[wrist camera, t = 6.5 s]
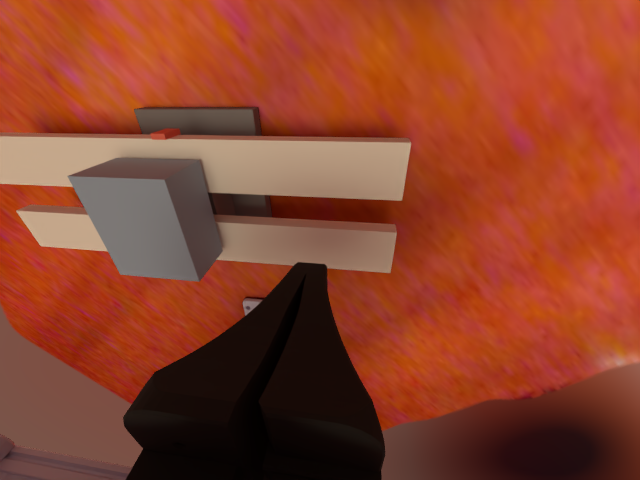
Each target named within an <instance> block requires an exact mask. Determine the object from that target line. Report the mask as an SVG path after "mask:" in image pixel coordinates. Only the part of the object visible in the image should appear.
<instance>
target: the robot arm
mask: <svg viewBox="0 0 640 480" xmlns="http://www.w3.org/2000/svg"><path fill="white" fill-rule="evenodd" d="M248 306H249V307H248ZM243 307H244V312H245V317H243V318H242V319H241V320H240V321H238V322H237V323H236V324H235V325H233V326H232V327H231V328H229V329H228V330H226V331H225V332H224V333H222V334H221V335H219V336H218V337H217V338H215V339H214V340H212V341H210V342H209V343H207V344H206V345H204V346H202V347H201V348H199V349H197V350H196V351H194V352H192V353H190V354H189V355H187V356H185V357H183V358H181V359H179V360H178V361H176V362H174V363H172V364H170V365H168V366H166V367H164V368H162V369H160V370H158V371H156V372H155V373H154V374H153V375H152V377H151V378H150V379H149V381H148V382H147V383H146V384H145V386H144V387H143V389H142V390H141V392H140V393H139V395H138V396H137V398H136V399H135V401H134V402H133V404H132V405H131V407H130V408H129V410H128V411H127V412H126V414H125V415H124V417H123V419H124V426H125V428H126V429H127V430H128V432H129V433H130V434H131V435H132V436H133V437H134V439H135V440H136V441H137V442H138V443H139V444H140V445H141V447H143V450H142V452H141V454H140V456H139V457H138V459H137V461H136V462H135V464H134V466H133V467H128V466H123V465H118V464H112V463H107V462H102V461H97V460H91V459H86V458H81V457H75V456H70V455H65V454H60V453H54V452H49V451H44V450H39V449H33V448H28V447H23V446H17V445H14V442H13V441H11V440H10V439H9V438H7V437H5V436H3V435H1V434H0V480H381V468H382V464H383V461H384V457H385V445H384V438H383V434H382V430H381V426H380V423H379V420H378V417H377V414H376V411H375V408H374V405H373V401H372V399H371V397H370V396H369V394H368V392H367V391H366V389H365V387H364V385H363V383H362V382H361V380H360V378H359V376H358V374H357V372H356V370H355V368H354V366H353V365H352V362H351V360H350V358H349V356H348V354H347V351H346V349H345V347H344V345H343V342H342V340H341V337H340V335H339V332H338V329H337V326H336V323H335V320H334V317H333V314H332V310H331V306H330V302H329V297H328V292H327V266H326V265H325V264H318V263H304V262H297V263H296V264H295V265H294V266H293V267H292V269H291V270H290V271H289V272H288V273H287V275H286V276H285V277H284V278H283V279H282V280H281V282H280V283H279V284H278V285H277V286H276V287H275V288H274V289H273V290H272V291H271V292H270V293H269V294H268V295H267V296H266V297H265V298H264V299H263V300H261V299H250V298H246V299H244V301H243Z"/></svg>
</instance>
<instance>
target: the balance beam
mask: <svg viewBox="0 0 640 480" xmlns="http://www.w3.org/2000/svg"><path fill="white" fill-rule="evenodd" d="M134 112H135V114H136V117H137V120H138V123H139V126H140V128H141V131H142V134H70V133H0V184H21V185H45V186H68V187H73V186H72V184H71V182H70V180H69V178H68V177H67V176H69V175H72V174H74V173H77V172H80V171H82V170H85V169H88V168H90V167H93V166H96V165H98V164H101V163H104V162H107V161H109V160H112V159H115V158H140V159H179V160H199V162H200V166H201V169H202V173H203V177H204V181H205V185H206V189H207V192H208V196H209V199H210V203H211V207H212V211H213V216H214V219H215V223H216V227H217V231H218V235H219V239H220V242H221V246H222V250H223V252H222V253H221V254H220V255H219V257H218V258H217V259H216V260H227V261H240V262H253V263H266V264H279V265H292V266H294V265H295V264H296V263H297V262H304V263H318V264H325V265H326V266H327V268H331V269H344V270H357V271H370V272H383V273H391V267H392V260H393V254H394V248H395V242H396V235H397V230H396V225H395V224H382V223H364V222H345V221H327V220H308V219H290V218H272V212H271V204H270V196H269V195H279V196H302V197H326V198H349V199H373V200H396V201H402V198H403V191H404V185H405V179H406V172H407V166H408V160H409V154H410V147H411V141H410V140H409V138H374V137H298V136H262V134H261V126H260V119H259V111H258V107H144V108H139V109H134ZM16 211H17V213H18V214H19V216H20V217H21V219H22V220H23V221H24V223H25V224H26V226H27V227H28V229H29V230H30V231H31V233H32V234H33V236H34V237H35V239H36V240H37V242H38V243H39V244H40V246H45V247H58V248H71V249H84V250H97V251H108V250H107V249H106V247H105V245H104V243H103V241H102V239H101V238H100V236H99V234H98V232H97V230H96V228H95V226H94V225H93V223H92V221H91V219H90V217H89V215H88V214H87V212H86V210H85V208H84V207H67V206H48V205H28V206H26V207H24V208H21V209H19V210H16Z"/></svg>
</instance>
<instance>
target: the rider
mask: <svg viewBox="0 0 640 480" xmlns="http://www.w3.org/2000/svg"><path fill="white" fill-rule="evenodd" d="M67 177H68V178H69V180H70V182H71V184H72V186H73V188H74V190H75V191H76V193H77V195H78V197H79V199H80V201H81V202H82V204H83V206H84V208H85V210H86V212H87V214H88V215H89V217H90V219H91V221H92V223H93V225H94V226H95V228H96V230H97V232H98V234H99V236H100V238H101V239H102V241H103V243H104V245H105V247H106V249H107V250H108V252H109V254H110V256H111V258H112V260H113V261H114V263H115V265H116V267H117V269H118V271H119V273H120V274H121V275H132V276H143V277H154V278H166V279H177V280H188V281H200V280H201V279H202V277H203V276H204V275H205V274H206V272H207V271H208V270H209V268H210V267H211V266H212V264H213V263H214V262H215V261H216V259H217V258H218V257H219V255H220V254H221V253H222V252H223V250H222V246H221V242H220V239H219V235H218V231H217V227H216V223H215V219H214V216H213V211H212V207H211V203H210V199H209V196H208V192H207V189H206V185H205V181H204V177H203V173H202V169H201V166H200V162H199V160H179V159H140V158H115V159H112V160H109V161H107V162H104V163H101V164H98V165H96V166H93V167H90V168H88V169H85V170H82V171H80V172H77V173H74V174H72V175H69V176H67Z"/></svg>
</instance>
